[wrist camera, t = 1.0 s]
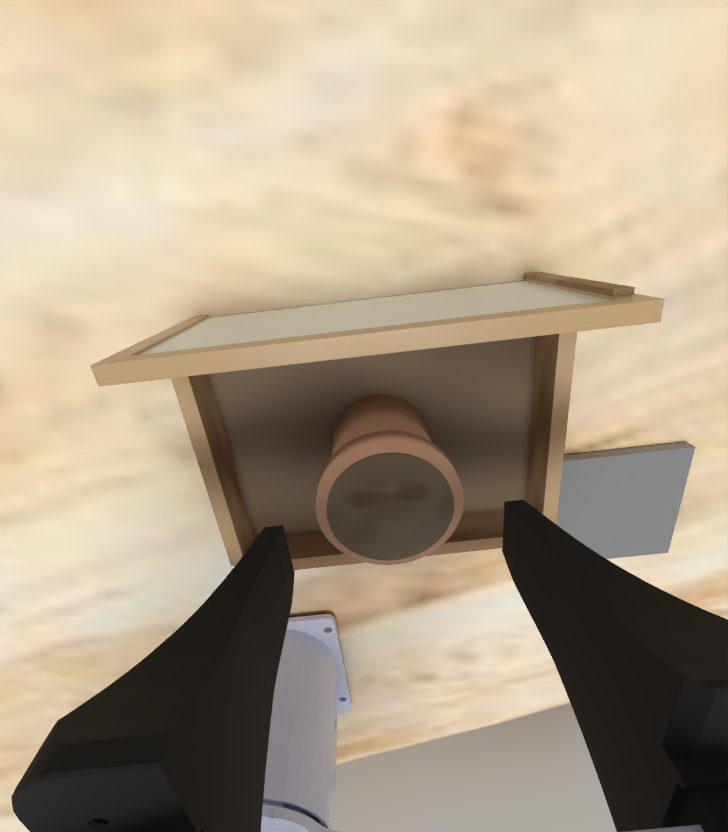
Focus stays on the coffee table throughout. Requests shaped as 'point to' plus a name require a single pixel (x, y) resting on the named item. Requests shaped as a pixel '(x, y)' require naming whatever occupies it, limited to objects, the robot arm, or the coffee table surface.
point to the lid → (371, 329)
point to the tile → (624, 498)
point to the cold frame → (417, 384)
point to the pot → (387, 484)
